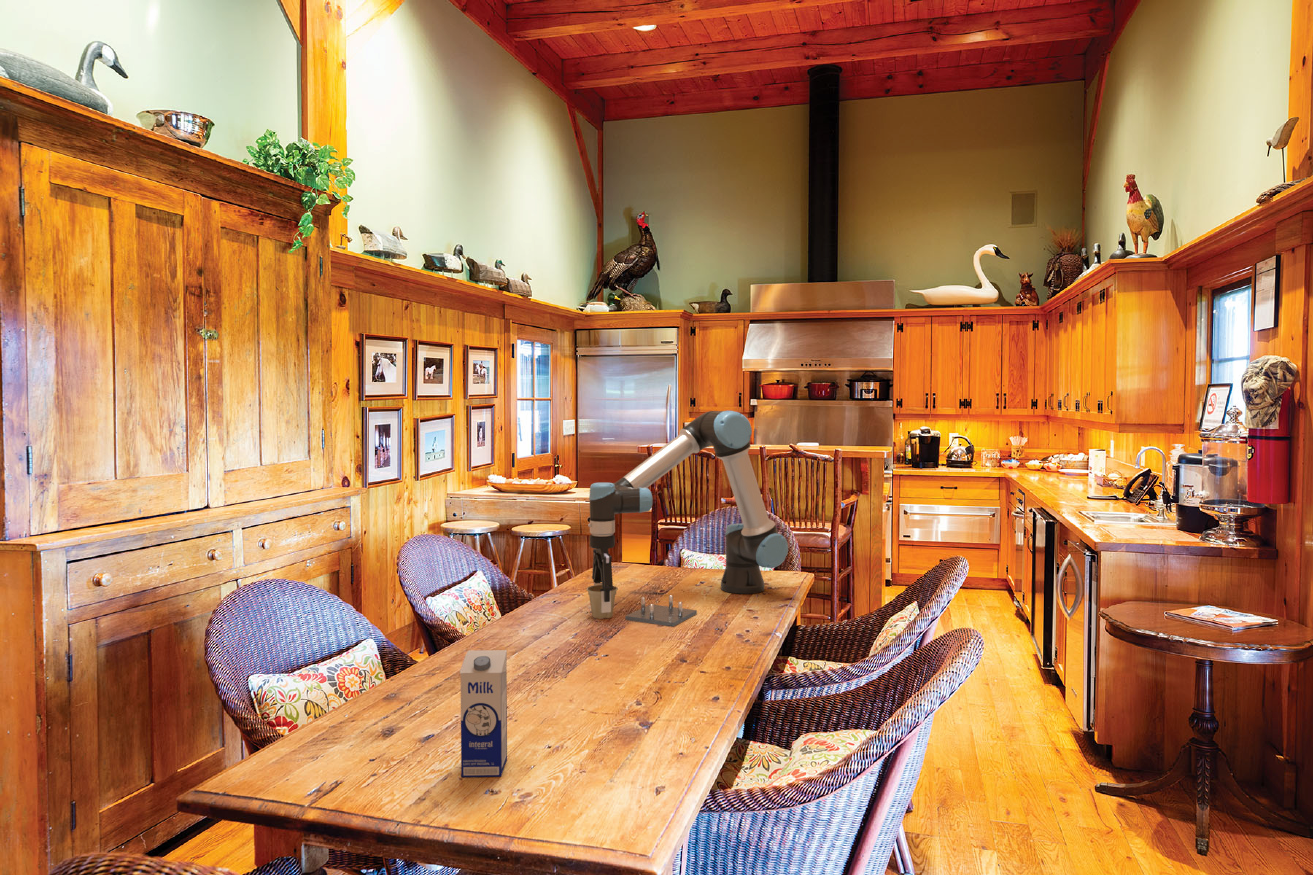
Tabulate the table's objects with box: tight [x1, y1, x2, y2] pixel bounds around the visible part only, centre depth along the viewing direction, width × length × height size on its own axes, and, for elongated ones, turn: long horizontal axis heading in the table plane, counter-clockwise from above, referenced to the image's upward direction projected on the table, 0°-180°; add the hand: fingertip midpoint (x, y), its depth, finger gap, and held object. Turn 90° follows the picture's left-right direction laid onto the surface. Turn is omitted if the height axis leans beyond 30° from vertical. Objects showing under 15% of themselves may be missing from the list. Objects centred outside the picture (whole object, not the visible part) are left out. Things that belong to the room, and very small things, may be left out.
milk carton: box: [459, 649, 508, 778], centre depth 138 cm, size 7×7×20 cm
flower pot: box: [586, 584, 619, 620], centre depth 239 cm, size 9×9×9 cm
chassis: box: [624, 594, 698, 628], centre depth 239 cm, size 16×16×5 cm
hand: (602, 608), depth 239 cm, fingers closed on flower pot, 9 cm apart
